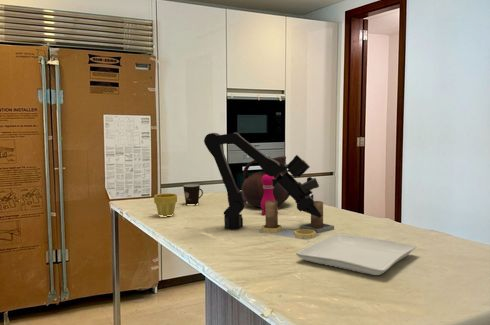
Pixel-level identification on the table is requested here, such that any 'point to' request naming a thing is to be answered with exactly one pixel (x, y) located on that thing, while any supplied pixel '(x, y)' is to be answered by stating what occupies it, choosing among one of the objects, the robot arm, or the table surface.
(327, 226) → the gray square tray
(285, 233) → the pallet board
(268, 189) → the pink bowling pin
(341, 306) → the table surface
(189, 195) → the coffee mug
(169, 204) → the plant pot
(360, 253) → the square plate
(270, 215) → the cylinder
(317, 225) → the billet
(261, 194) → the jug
